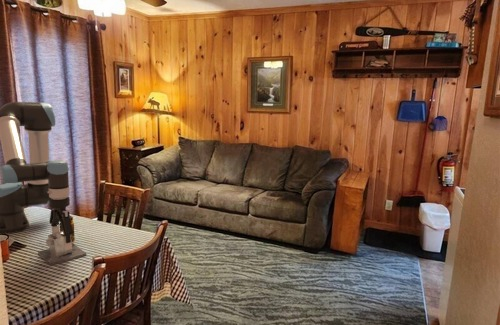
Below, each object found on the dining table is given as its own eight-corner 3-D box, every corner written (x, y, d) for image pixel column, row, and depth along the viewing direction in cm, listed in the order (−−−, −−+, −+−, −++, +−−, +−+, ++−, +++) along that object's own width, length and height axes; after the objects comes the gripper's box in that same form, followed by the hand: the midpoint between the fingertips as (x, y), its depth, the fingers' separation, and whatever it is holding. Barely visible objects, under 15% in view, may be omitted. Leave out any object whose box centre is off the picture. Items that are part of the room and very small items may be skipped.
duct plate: (38, 253, 144) (36, 232, 142) (72, 244, 154) (71, 224, 153) (50, 265, 134) (49, 242, 133) (86, 255, 145) (85, 233, 143)
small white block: (66, 246, 149) (64, 230, 147) (72, 251, 144) (70, 234, 143) (46, 253, 142) (43, 236, 141) (52, 258, 138) (49, 241, 136)
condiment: (76, 242, 157) (75, 218, 155) (55, 246, 153) (54, 221, 151) (74, 237, 163) (73, 213, 161) (54, 240, 158) (53, 216, 156)
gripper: (39, 192, 145) (42, 238, 149) (60, 205, 129) (63, 256, 133) (58, 189, 151) (60, 234, 154) (80, 201, 135) (82, 251, 139)
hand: (61, 244), depth 144 cm, fingers open, 12 cm apart
